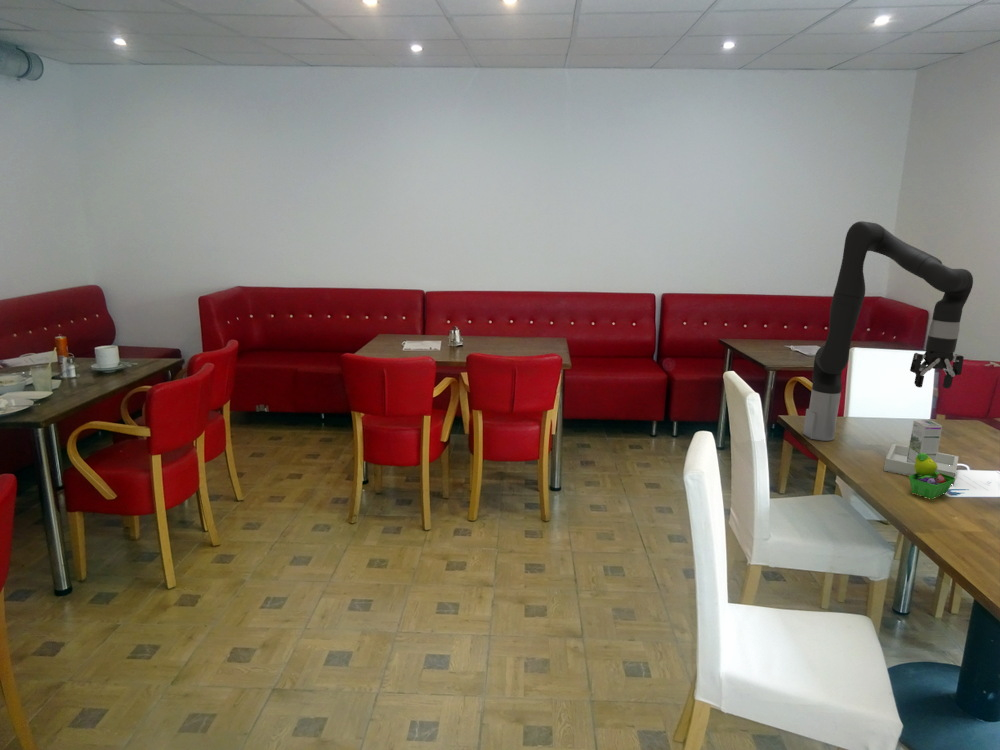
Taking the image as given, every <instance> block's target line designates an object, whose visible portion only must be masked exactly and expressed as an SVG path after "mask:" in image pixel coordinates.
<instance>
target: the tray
mask: <svg viewBox="0 0 1000 750" xmlns="http://www.w3.org/2000/svg"><path fill="white" fill-rule="evenodd" d="M908 451H909V446H907V445H902V444H898V443H897V444H896V443H893V444H892V445H891V447H890V449H889V451H888V454H887V455H886V457H885V462H884V467H883V471H884V472H887V471H888V473H892V472H893V474H896V473H898V474H897V475H901V474H904V475H903V476H906V475H910V476H911V475H913V474H916V471H915V468H914V466H915V464H914V463H909V462H907V457H908ZM958 463H959V455H953V454H948V453H943V452H940V451H938V453H937V458H936V464H937V467H938V468H937V469H936V472H939V473H942V474H945V475H948V476H952V477H954V478H955V479H956V474H957V470H958V469H957V468H958ZM949 465H950V466H949ZM954 483H955V481H954V482H952V484H953V485H954Z"/></svg>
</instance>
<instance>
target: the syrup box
mask: <svg viewBox="0 0 1000 750" xmlns="http://www.w3.org/2000/svg"><path fill="white" fill-rule="evenodd" d="M911 429H912V430H911V434H910V441H909V446H908V447H909V451H908V457H907V462H909V463H914V464H915V458H916V457H917V455H918V454H919V453H925V454H927V455H928V456H929V457H930V458H931V459H932V460H933V461H934V462H935V463H936V458H937V453H938V452H939V446H940V442H941V436H942V432H943V431H942V430H943V425H941V424H939V423H937V422H936V421H935V422H934V421H933V420H930V419H915V420H913V423H912V428H911Z"/></svg>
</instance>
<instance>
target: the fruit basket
mask: <svg viewBox="0 0 1000 750" xmlns="http://www.w3.org/2000/svg"><path fill="white" fill-rule="evenodd" d="M914 468H915V471H916V474H913V475H911V476H908V479H909V482H910V487H911V488H910V490H911V494H912V493H916V494H918V495H921V496H924V497H927V498H930V499H932V500H934V499H935V498H934V497H937V496H938V497H940V496H939V495H942V494H943V493H946V492H947V493H948V491H949V489H950V488H951V486H952V485H951V484H952V482H954V483H955V480H956V477H955V478H954V477H952V476H948V475H945V474H942V473H939V472H936V469H937V468H938V467H937V464H936V463H935V462H934V461H933V460H932V459H931V458H930V457H929V456H928V455H927V454H925V453H919V454H918V455H917V457H916V458H915V466H914ZM947 493H946V494H947ZM918 495H917V496H918ZM942 496H943V495H942ZM938 497H937V498H938ZM927 498H926V499H927ZM933 498H934V499H933Z"/></svg>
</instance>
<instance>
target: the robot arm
mask: <svg viewBox="0 0 1000 750" xmlns="http://www.w3.org/2000/svg"><path fill="white" fill-rule="evenodd" d="M868 252H874V253H876V254H880V255H883V256H885V257H888V258H890V259H891V260H892V261H894V262H895V263H896V264H897V265H898V266H900V268H902V269H903V270H905V271H907V272H908V273H910V274H912V275H914V276H916V277H919V278H920V279H923V281H924V282H926V283H927V284H929V285H930V286H931V287H932V288H934V289H935V290H938V291H939V292H942V293H944V294H943V296H942V298H941V299H940V300H938V301H937V302H936V303H935V305H934V309H933V313H932V319H931V322H930V324H929V327H928V333H927V339H926V343H925V353H924V354H923V353H919V352H915V353H914V354H913V357H912V361H911V364H910V369H909V371H910V372H912V373H914V374H915V378H914V382H913V384H914V386H915V387H916V388H922V387H923V383H924V378H925V375H926V374H927V372H930V370H932V369H935V370H937V369H940V370H943V371H944V373H945V375H944V378H943V383H942V388H944V389H950V388H951V386H952V384H953V379H954V377H955V376H961V374H962V372H963V366H964V365H963V364H964V355H961V354H954V353H955V351H956V348H957V343H958V338H959V334H960V324H961V321H962V320H961V319H962V314H963V309H964V306H965V304H966V303H967V300H968V298H969V296H970V294H971V292H972V289H973V284H974V278H973V274H972V272H971V271H969V270H968V269H965V268H951V267H948V266H947V265H944V264H943V262H942V261H941V259H939V258H937V257H936V256H935V255H934V256H933V255H932V254H930V253H927V252H925V251H924V250H921V249H919V248H917V247H915V246H913V245H911V244H909V243H906V242H905V241H903V240H902V239H900V238H899V237H897V236H896V235H894V234H892V233H891V232H890V231H889V230H887V229H886V228H885V227H884V226H882V225H880V224H879V223H877V222H870V221H864V220H863V221H862V220H861V221H857V222H855V223H852V225H851V226H850V227H849V229H848V230H847V233H846V235H845V240H844V246H843V253H842V260H841V265H840V267H839V268H840V269H839V273H838V276H837V282H836V285H835V289H834V293H833V296H832V299H831V302H830V303H831V304H830V308H829V328H828V334H827V337H826V341H825V343H824V345H822V346H821V347H819V348H818V350H817V351H816V352H815V356H814V360H813V361H814V362H813V368H812V378H811V379H812V382H811V383H812V385H811V392H810V393H811V394H810V401H809V406H808V408H806V410H805V417H804V423H803V430H802V434H803V435H804V436H805V437H807V438H809V439H811V440H817V441H824V442H825V441H826V442H829V441H830V442H831V441H833V440H834V438H835V434H836V433H835V432H836V427H837V420H838V414H839V406H840V401H841V394H842V387H843V386H842V385H843V384H842V372H843V371H844V370H845V369H846V367H847V365H848V362H849V355H850V350H851V344H852V337H853V335H854V331H855V329H856V325H857V322H858V320H859V316H860V314H861V313H860V312H861V310H862V307H863V303H864V300H865V296H866V283H865V277H864V276H865V275H864V264H865V259H866V257H867V253H868ZM922 361H923V362H922ZM952 361H953V363H952ZM951 363H952V364H951Z"/></svg>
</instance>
